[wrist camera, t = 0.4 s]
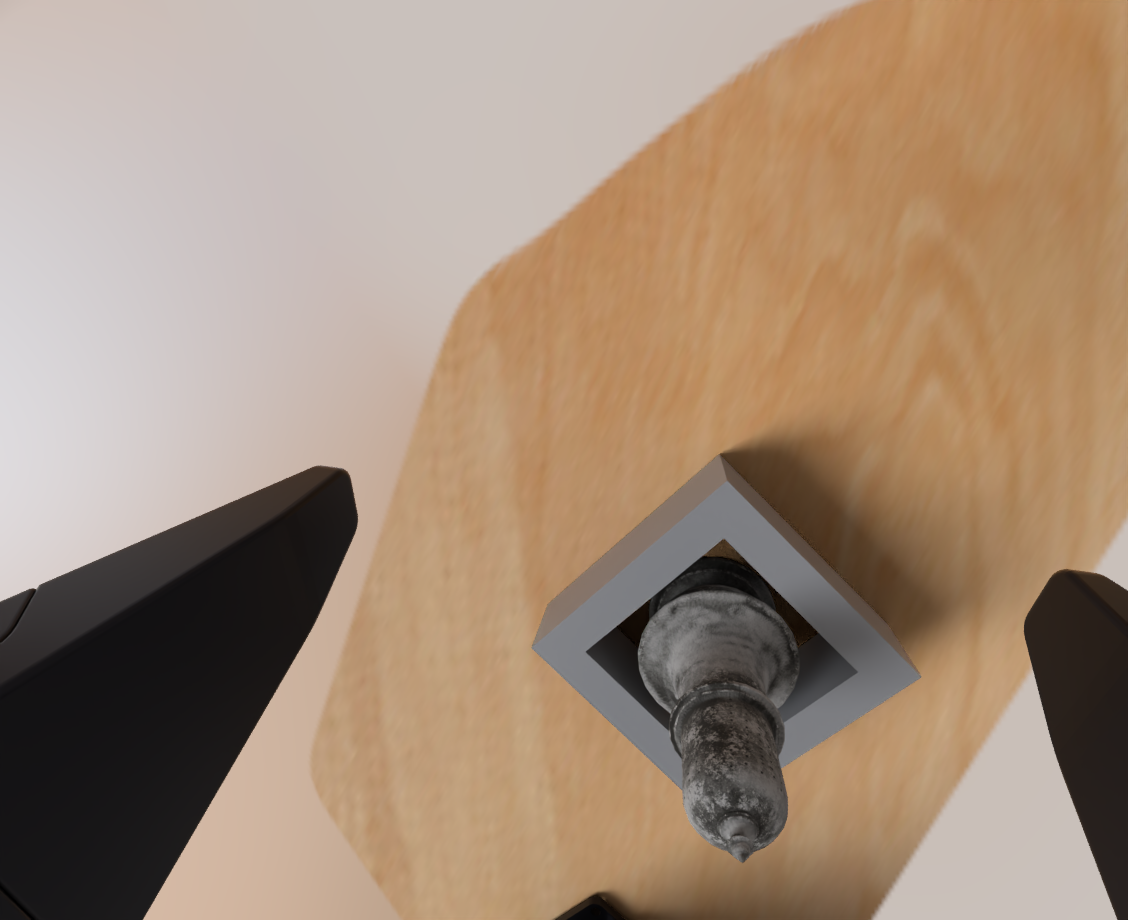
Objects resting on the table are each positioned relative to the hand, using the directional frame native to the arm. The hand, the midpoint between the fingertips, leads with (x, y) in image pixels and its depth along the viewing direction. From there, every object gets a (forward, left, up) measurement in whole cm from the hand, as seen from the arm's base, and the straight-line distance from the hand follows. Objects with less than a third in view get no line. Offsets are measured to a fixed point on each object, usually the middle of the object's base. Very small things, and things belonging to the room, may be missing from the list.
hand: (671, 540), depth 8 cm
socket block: (-6, -9, -17) cm, 20 cm away
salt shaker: (-6, -9, -17) cm, 20 cm away
